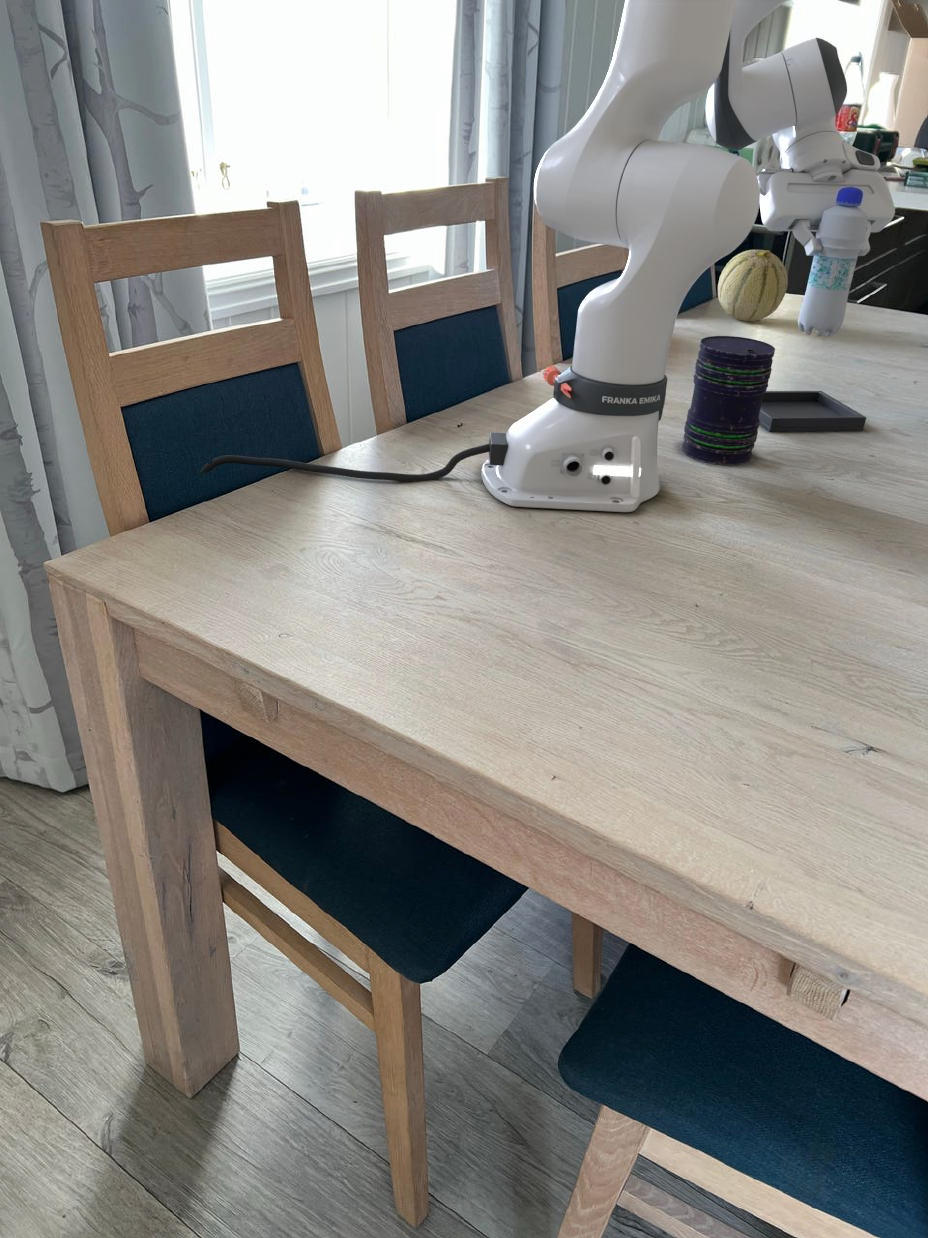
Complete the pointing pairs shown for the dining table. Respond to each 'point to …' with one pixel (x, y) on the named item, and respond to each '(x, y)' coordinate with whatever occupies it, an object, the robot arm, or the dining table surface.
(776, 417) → the tray
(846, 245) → the bottle
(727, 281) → the cantaloupe
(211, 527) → the dining table surface
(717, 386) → the navy striped cylinder
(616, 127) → the robot arm
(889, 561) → the dining table surface
